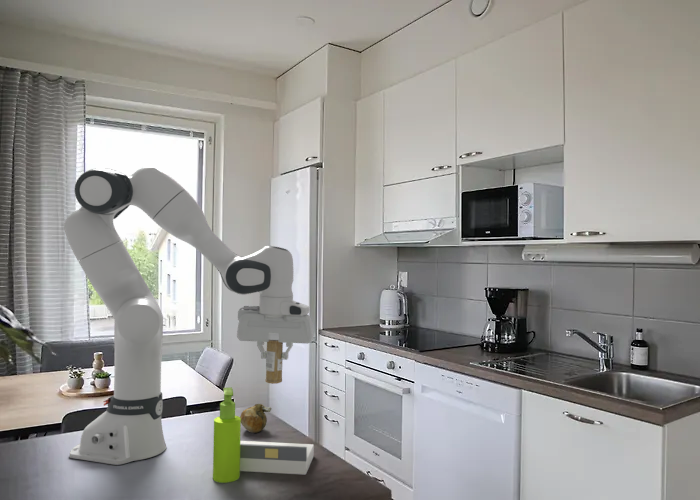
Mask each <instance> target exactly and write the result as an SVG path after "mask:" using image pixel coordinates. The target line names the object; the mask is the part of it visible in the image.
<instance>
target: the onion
mask: <svg viewBox="0 0 700 500" xmlns="http://www.w3.org/2000/svg"><path fill="white" fill-rule="evenodd" d="M271 411H272V407H271V406H269V407H268V406H267V407H266V406H265V405H264V404H263V403H256V404H254V405H253V406H250V407H248V408H246V409H243V411H242V412H241V413H240V416H239V417H240V418H241V426H242V427H243V428H244V429H245V430H246V431H247V432H249V433H254V434H257V433H259V432H261V431H263V430H265V428H266V425H267V422H268V418H267V415H266V413H271Z"/></svg>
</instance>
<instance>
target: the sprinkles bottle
mask: <svg viewBox="0 0 700 500" xmlns="http://www.w3.org/2000/svg"><path fill="white" fill-rule="evenodd" d="M268 339H269V342H266V350H265V351H266V359H265V382H266V383H267V384H270V385H271V384H281V383H282V382H283V359H282V353H283V352H284V351H283V348H284V343H282V342H278V340H279V333H268Z"/></svg>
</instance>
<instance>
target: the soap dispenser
mask: <svg viewBox="0 0 700 500" xmlns="http://www.w3.org/2000/svg"><path fill="white" fill-rule="evenodd" d="M222 390H223V401H222V402H220V403H219V416H217V417H215V418H214V419H213V447H212V448H213V449H212V450H213V451H212V452H213V453H212V454H213V455H212V459H213V460H212V462H213V463H212V465H213V466H212V480H213V481H214V482H216V483H220V484H224V483H225V484H226V483H227V484H228V483H233V482H235V481H237V480H239V479H240V476H241V475H240V474H241V471H240V441H241V429H242V427H241V426H242V424H241V418H240V416H238V415H236V402H235V401H233V400H232V399H233V396H234V390H233V387H223V388H222Z"/></svg>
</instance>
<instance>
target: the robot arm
mask: <svg viewBox="0 0 700 500" xmlns="http://www.w3.org/2000/svg"><path fill="white" fill-rule="evenodd" d="M74 195H75V198H76V200H77V202H78V203H79V205H80V206H81V207H80V208H79V209H77V210H74V212H72V213H71V214H69V215H68V217H66V218H65V220H64V224H63V229H64V233H65V237H66V238H67V241H68V243H69V245H70V249H71V250H72V252H73V254H74V256H75V258H76V261H77V262H78V264H79V265H80V267H81V269H82V270H83V272H84V274H85V275H86V278H87V279H88V281H89V283H90V284H91V286H92V287H93V289H94V291H95V292H96V293H97V295H98V296H99V298H100V299H101V300H102V302H103V303H104V305H105V307H106V308H107V309H108V311H109V313H110V314H111V316H112V317H113V319H114V343H113V344H114V351H113V352H114V370H113V371H114V376H113V377H114V378H113V379H114V380H113V395H112V396H110V397H108V398H107V399H106V400H104V401H103V407H104V406H107V408H106V411H104V412H103V413H101V414H100V415H99V416H97V418H95V419H94V420H93V421H91V422H90V423H89V424H87V426H85V428H84V429H83V431H82V434H81V438H80V442H79V444H77V445H75V446H74V447H73V448H72V449H71V450H70V452H69V458H70V459H76V460H82V461H83V460H84V461H90V462H96V463H100V464H101V463H102V464H108V465H116V466H119V465H124V464H127V463H130V462H133V461H140V460H146V459H149V458H152V457H155V456H158V455H160V454H161V453H163V452H164V451H166V449H167V443H166V441H165V436H164V430H163V425H162V414H163V408H164V407H163V393H162V391H161V390H162V387H161V386H162V359H163V357H162V354H163V335H164V334H163V332H164V315H163V312H162V310H161V308H160V305H159V304H158V302H157V300H156V298H155V297H154V295H153V293H152V292H151V290H150V288H149V286H148V284H147V282H146V281H145V279H144V278H143V276H142V274H141V272H140V270H139V268H138V267H137V265H136V263H135V262H134V259H133V258H132V256H131V255H130V253H129V251H128V249H127V247H126V246H125V244H124V243H123V240H122V239H121V237H120V235H119V234H118V232H117V229H116V228H115V225H114V220H116V219H117V218H118V217H119V216H120V215H121V214H122V213H124V211H126V210H127V209H128V208H129V207H130V206H135V207H137V208H138V209H140V210H141V211H142V212H144V213H145V214H146V215H147V216H148V217H149V218H150V219H151V220H152V221H153V222H154V223H155V224H157V225H158V226H159V227H160V228H161V229H163V230H164V231H166V232H167V233H168V234H170V235H171V236H173V237H175V238H176V239H178V240H180V241H183V242H185V243H187V244H189V245H191V246H192V247H193V248H195V249H196V250H197V251H198V252H199V253H200V254H201V255H202V256H204V258H205V259H206V260H208V261H209V263H210V264H211V265H213V267H214V268H216V270H218V272H219V275H220V278H221V279H222V282H223V284H224V286H225V287H226V288H227V289H228V290H229V291H230V292H232V293H234V294H237V295H242V296H246V295H251V294H254V293H259V305H258V306H257V305H253V306H252V305H250V306H249V305H244V306H243V307H240V308H239V309H238V311H237V320H238V324H237V325H238V326H237V331H236V332H237V333H236V337H237V339H238V341H241V342H256V346H257V348H258V350H259V351H260V359H262V360H266V351H267V350H265V347H264V346H263V345H265V343H267V342H269V339H268V333H279V340H278V342H282V343H283V344H284V343H285V347H286V350H285V351H283V353H282V359H283V360H284V361H285V360H286V361H287V360H289V353H290V352H291V350H292V348H293V346H294V344H310V343H312V342H313V340H314V323H313V320H312V317H311V315H309V314H310V306H309V305H307V304H304V303H301V302H299V301H296V300H294V294H293V293H294V292H293V282H294V259H293V255H292V252H290V250H288V249H287V248H283V247H280V246H274V245H273V246H272V245H264V246H263V247H262V248H261V249H259V250H257V251H255V252H254V253H251V254H248V255H245V256H241V255H239V254H238V253H237V254H236V253H235V252H233V250H232V249H230V248H229V247H228V245H227V244H225V243H224V241H222V240H221V239H220V237H218V236H217V235H216V234H215V232H214V231H213V230H212V228H211V227H210V225H209V224H208V222H207V219H206V216H205V213H204V212H203V209H202V208H201V206H200V205H199V203H198V202H197V201H196V200H195V198H194V197H193V196H192V195H191V194H190V192H188V191H187V190H186V189H185V188H184V187H183V186H182V185H181V184H180V183H178V181H176V180H175V179H174V178H172V177H171V176H170V175H169V174H167V173H166V172H164V171H163V170H161V169H160V168H158V167H156V166H153V165H147V166H144V167H143V166H142V167H140V168H139V169H138V170H136V171H134V172H133V173H132V174H131V175H127V174H124V173H122V172H120V171H117V170H115V169H111V168H91V169H89V170H87V171H85V172H83V173H82V174H80V176H79V177H78V178H77V180H76V182H75V183H74ZM283 360H282V361H283Z"/></svg>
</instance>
